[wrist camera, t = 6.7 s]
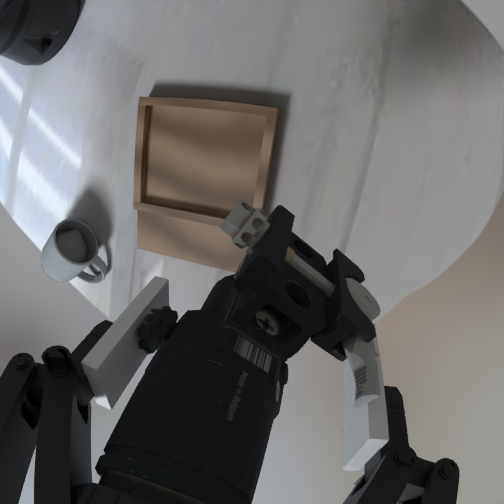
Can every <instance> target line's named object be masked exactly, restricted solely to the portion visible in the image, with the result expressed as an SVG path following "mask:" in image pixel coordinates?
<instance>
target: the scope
mask: <svg viewBox="0 0 504 504" xmlns="http://www.w3.org/2000/svg"><path fill="white" fill-rule="evenodd" d="M294 217H295V216H294V215H293V214H292V213H291V212H289V211H288V210H287V209H286V208H284V207H283V206H282V205H278V206H277V207H276V208H275V209H274V211H273V212H272V213H271V214H270V215H269V216H268V214H267V213H266V212H265V211H263V210H262V209H261V208H256V209H255V208H254V207H252V206H251V205H250V204H248V203H247V202H246V201H244V200H243V199H241V200H240V201H239V202H238V203H237V204H236V206H235V207H234V208H233V210H232V211H231V212H230V213H229V215H228V216H227V217H226V219H225V220H224V221H223V223H222V224H221V225H220V229H221V230H222V231H224V232H225V233H226V234H228V235H229V236H230V237H231V238H233V239H232V243H233V244H235V245H236V246H237V247H239V248H240V249H242V248H245V247H247V246H248V248H247V249H246V253H247V254H246V255H245V256H244V258H243V259H242V261H241V263H240V265H239V267H238V269H237V271H236V273H235V274H233V275H230V276H226V277H224V278H223V279H221V280H220V281H218V282H217V283H216V284H215V286H214V287H213V288H212V290H211V292H210V294H209V295H208V297H207V299H206V301H205V302H204V304H203V306H202V308H201V310H188V311H187V312H186V313H185V314H184V315H183V316H182V317H181V319H180V320H179V321H178V322H176V321H177V319H178V314H177V312H176V311H173V310H171V308H170V307H169V306H163V307H162V308H161V309H158V308H154V309H151V310H150V311H151V312H152V313H153V314H148V315H147V316H146V317H145V319H144V320H143V322H142V323H141V324H140V326H139V327H140V328H138V329H137V335H138V337H139V338H140V339H139V341H138V347H139V348H140V349H143V350H145V353H146V354H151V353H154V352H155V351H156V349H157V352H156V353H155V355H154V357H153V358H152V360H151V362H150V363H149V365H148V367H147V368H146V370H145V374H144V375H143V377H142V379H141V380H140V382H139V383H138V385H137V387H136V389H135V391H134V393H133V394H132V396H131V398H130V400H129V402H128V404H127V405H126V407H125V409H124V411H123V413H122V415H121V417H120V419H119V421H118V423H117V424H116V427H115V428H114V430H113V432H112V434H111V436H110V438H109V440H108V442H107V444H106V446H105V448H104V452H105V454H104V455H102V456H100V458H99V460H98V462H97V465H96V467H95V469H96V471H97V473H98V474H99V476H100V477H101V479H100V481H99V483H98V484H96V483H87V484H81V485H80V486H79V488H78V491H77V493H76V498H77V503H76V504H251V503H252V500H253V496H254V493H255V489H256V485H257V482H258V478H259V475H260V471H261V467H262V463H263V459H264V455H265V452H266V448H267V443H268V440H269V435H270V431H271V427H272V423H273V420H274V419H275V418H276V416H277V415H278V414H279V411H280V405H281V399H282V394H283V388H284V385H285V384H286V383H287V380H288V365H287V364H286V363H285V361H287V359H288V358H290V357H292V356H293V355H294V354H295V353H297V352H298V351H299V350H300V348H302V347H303V345H304V344H305V343H306V342H307V341H308V339H309V338H310V337H311V341H312V342H314V343H315V344H316V345H318V346H319V347H321V348H322V349H323V350H325V351H326V352H328V353H329V354H331V355H332V356H334V357H335V358H337V359H338V360H340V361H344V360H346V359H348V361H349V363H350V366H351V370H352V374H353V378H354V382H355V404H354V407H355V408H357V409H358V408H360V407H362V406H363V405H365V404H367V403H369V402H370V401H372V400H374V399H375V398H377V397H379V396H380V383H379V373H378V363H377V361H376V358H378V357H379V354H378V353H376V352H375V346H374V341H373V339H374V338H375V337H376V332H375V327H374V325H373V323H372V322H371V321H373V320H374V319H375V318H376V317H378V316H379V314H380V311H381V310H380V308H379V305H378V303H377V301H376V300H375V298H374V297H373V296H372V295H371V293H370V292H369V291H368V290H367V289H366V288H365V287H363V286H362V285H361V284H360V283H362V282H363V281H364V280H365V278H364V274H363V272H362V271H361V269H360V268H359V267H358V266H357V265H355V264H354V263H353V262H352V261H351V260H350V259H348V258H347V257H346V256H345V255H344V254H343V253H341V252H340V251H339V250H338V249H337V248H336V249H335V250H334V251H333V260H332V261H331V262H330V263H329V264H328V265H327V266H326V261H325V259H324V257H322V256H321V255H320V254H319V253H318V252H316V251H315V250H314V249H313V248H311V247H310V246H309V245H308V244H307V243H305V242H304V241H303V240H302V239H300V238H299V237H298V236H297V235H295V234H294V233H293V232H292V226H293V222H294ZM346 278H348V279H346Z"/></svg>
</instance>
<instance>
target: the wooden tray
mask: <svg viewBox="0 0 504 504" xmlns="http://www.w3.org/2000/svg"><path fill="white" fill-rule="evenodd" d="M279 114H280V109H279V108H272V107H266V106H259V105H251V104H243V103H235V102H225V101H215V100H203V99H189V98H169V97H139V105H138V116H137V129H136V144H135V164H134V209H136V210H138V248H139V249H143V250H147V251H151V252H154V253H158V254H162V255H166V256H170V257H174V258H178V259H182V260H186V261H190V262H194V263H198V264H202V265H206V266H211V267H215V268H219V269H223V270H227V271H231V272H235V273H236V271H237V269H238V267H239V265H240V263H241V261H242V259H243V258H244V256H245V255H246V254H247V253H246V249H247V248H248V246H247V247H245V248H242V249H240V248H239V247H237V246H236V245H235V244H233V243H232V239H233V238H231V237H230V236H229V235H228V234H226V233H225V232H224V231H222V230H221V229H220V225H221V224H222V223H223V221H224V220H225V219H226V217H227V216H228V215H229V213H230V212H231V211H232V210H233V208H234V207H235V206H236V204H237V203H238V202H239V201H240V200H241V199H243V200H244V201H246V202H247V203H248V204H250V205H251V206H252V207H254V208H255V209H256V208H261V209H262V210H263V211H264V207H265V200H266V194H267V188H268V182H269V176H270V170H271V163H272V157H273V151H274V145H275V139H276V132H277V126H278V120H279Z"/></svg>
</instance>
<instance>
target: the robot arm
mask: <svg viewBox="0 0 504 504" xmlns="http://www.w3.org/2000/svg"><path fill="white" fill-rule="evenodd" d="M79 8H80V0H0V55H1V56H4V57H6V58H8V59H11V60H13V61H15V62H18V63H20V64H22V65H41V64H43V63H45V62H47V61H49V60H50V59H51V58H53V57H54V56H55V55H56V54H57V53H58V52H59V50H60V49H61V48H62V47H63V45H64V44H65V42H66V41H67V39H68V38H69V36H70V34H71V32H72V30H73V28H74V25H75V23H76V20H77V17H78V13H79ZM163 306H169V282H168V279H165V278H161V277H157V276H155V277H154V278H153V279H152V280H151V281H150V282H149V284H148V285H147V286H146V287H145V288H144V289H143V290H142V291H141V292H140V294H139V295H138V296H137V297H136V298H135V299H134V300H133V301H132V303H131V304H130V305H129V306H128V307H127V308H126V309H125V311H124V312H123V313H122V314H121V315H120V316H119V318H118V319H117V320H116V321H115V322H114V323H113V322H110V321H107V320H105V321H103V322H101V323H99V324H98V325H96V326H95V327H94V328H93V330H92V331H91V332H90V334H88V335H87V336H86V337H85V339H84V340H83V341H82V342H81V343H80V344H79V345H78V346H77V348H76V349H75V350H74V351H73V352H72V353H70V352H69V350H68V349H67V348H65V347H63V346H52V347H50V348H47V349H46V350H45V351H44V352H43V354H42V356H41V357H42V360H43V362H44V364H40V363H35V361H34V359H33V357H32V356H31V355H30V354H27V353H19V354H17V355H15V356H14V357H13V358H12V359H11V360H10V361H9V363H8V365H7V367H6V369H5V370H4V372H3V374H2V376H1V377H0V504H18V503H19V499H20V495H21V491H22V488H23V484H24V481H25V478H26V474H27V471H28V468H29V465H30V462H31V458H32V456H33V453H34V450H35V447H36V457H35V476H34V504H76V503H77V498H76V493H77V491H78V488H79V486H80V485H81V484H87V483H92V471H91V403H90V401H91V399H92V398H93V396H94V397H95V400H96V402H97V403H98V404H99V405H102V406H104V407H106V408H108V409H110V410H112V408H113V407H114V405H115V404H116V402H117V400H118V399H119V397H120V396H121V394H122V393H123V391H124V389H125V388H126V386H127V385H128V383H129V382H130V380H131V378H132V377H133V376H134V374H135V372H136V371H137V369H138V367H139V366H140V365H141V363H142V362H143V360H144V359H145V357H146V356H147V354H146V353H145V350H143V349H140V348H139V347H138V341H139V339H140V338H139V337H138V335H137V329H138V328H140V327H139V326H140V324H141V323H142V322H143V320H144V319H145V317H146V316H147V315H148V314H153V313H152V312H151V311H150V310H151V309H154V308H158V309H161V308H162V307H163ZM373 325H374V327H375V324H373ZM375 332H376V330H375ZM373 341H374V346H375V352H376V353H378V354H379V348H378V341H377V335H376V337H375V338H374V339H373ZM376 361H377V363H378V373H379V383H380V396H379V397H377V398H375V399H374V400H372V401H370V402H369V403H367V404H365V405H363V406H362V407H360V408H358V409H357V408H355V407H354V404H355V382H354V378H353V374H352V370H351V366H350V363H349V361H348V359H346V360H344V425H343V427H344V428H343V455H342V470H351V471H359V470H361V469H362V467H364V466H365V474H364V475H363V476H362V477H361V478H360V479H358V480H357V481H356V482H355V483H354V484H355V485H356V486H355V487H354V489H353V490H352V492H351V493H350V494H349V496H348V497H347V499H346V500H345V502H344V503H343V504H397V502H398V504H456V500H457V493H458V484H459V468H458V466H457V464H456V463H455V462H454V461H453V460H451V459H448V458H443V459H440V460H438V461H437V462H436V463H434V462H430V461H427V460H424V459H421V458H419V457H417V456H416V453H415V452H414V450H413V449H412V448H410V447H409V443H408V434H407V426H406V419H405V416H404V415H405V411H404V408H403V407H404V405H403V398H402V395H401V393H400V392H399V390H398V389H397V387H390V386H384V383H383V375H382V368H381V361H380V354H379V357H378V358H376Z"/></svg>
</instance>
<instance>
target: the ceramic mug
mask: <svg viewBox="0 0 504 504" xmlns="http://www.w3.org/2000/svg"><path fill="white" fill-rule="evenodd" d="M98 249H99V247H98V241H97V238H96V236H95V234H94V232H93V231H92V229H91V228H90V227H89V226H88V225H87V224H85V223H84V222H82V221H80V220H77V219H66V220H63V221H62V222H60V223H59V224H58V225H57V226H56V227H55V229H54V231H53V232H52V234H51V236H50V237H49V239H48V241H47V242H46V244H45V246H44V248H43V250H42V254H41V264H42V267H43V269H44V271H45V273H46V274H47V275H48V276H49V277H50V278H52V279H53V280H55V281H58V282H66V281H69V280H72V279H73V278H75V277H76V276H77V277H79V278H80V279H82V280H83V281H86V282H88V283H100V282H101V281H103V280H104V279H105V276H106V273H107V266H106V264H105V263H104V262H103V260H102V259H101V258H100V257H98V256H97V254H98ZM91 263H93V264H95V265H96V266H97V267H98V268H99V270H100V271H101V272H102V273H101V274H99V275H96V276H93V275H90V274H88V273H86V272H84V271H83V270H84V269H85V268H86V267H87V266H89V265H90V264H91Z"/></svg>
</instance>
